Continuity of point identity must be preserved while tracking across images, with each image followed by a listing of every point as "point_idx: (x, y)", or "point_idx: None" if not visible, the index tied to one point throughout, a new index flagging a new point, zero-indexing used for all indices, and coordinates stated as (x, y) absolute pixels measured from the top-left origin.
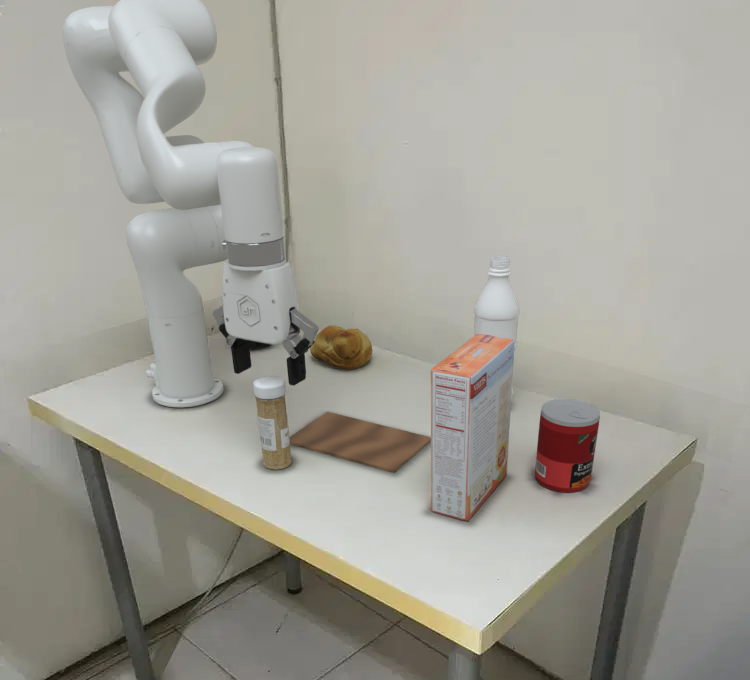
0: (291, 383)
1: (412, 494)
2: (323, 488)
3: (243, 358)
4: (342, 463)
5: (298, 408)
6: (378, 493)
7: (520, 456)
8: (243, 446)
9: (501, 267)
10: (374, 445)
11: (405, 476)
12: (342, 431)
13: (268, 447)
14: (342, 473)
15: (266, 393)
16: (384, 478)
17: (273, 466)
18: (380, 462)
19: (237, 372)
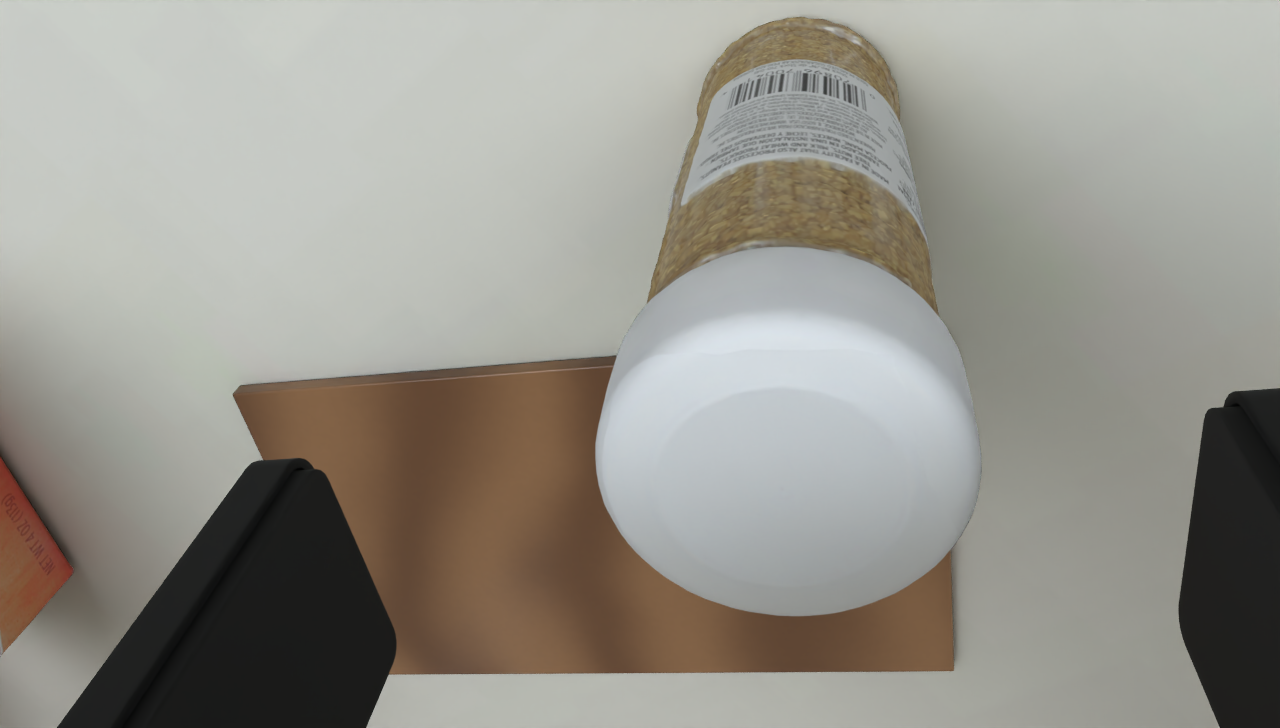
0: (255, 469)
1: (29, 283)
2: (351, 60)
3: (1263, 658)
4: (496, 326)
5: (1154, 646)
6: (125, 199)
7: (58, 696)
8: (1181, 149)
9: None
10: (491, 523)
11: (186, 388)
12: None
13: (760, 72)
14: (412, 248)
15: (677, 309)
16: (230, 325)
17: (745, 37)
18: (336, 416)
19: (1242, 407)
